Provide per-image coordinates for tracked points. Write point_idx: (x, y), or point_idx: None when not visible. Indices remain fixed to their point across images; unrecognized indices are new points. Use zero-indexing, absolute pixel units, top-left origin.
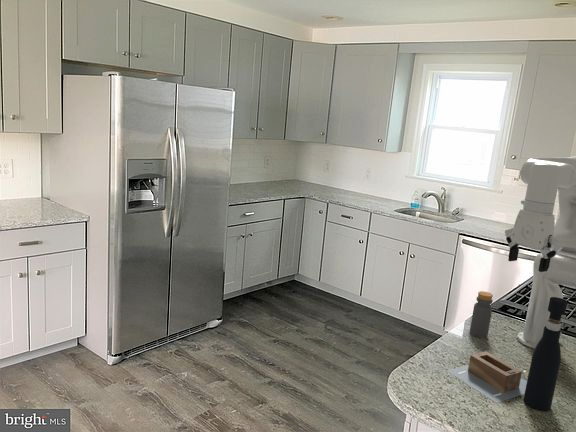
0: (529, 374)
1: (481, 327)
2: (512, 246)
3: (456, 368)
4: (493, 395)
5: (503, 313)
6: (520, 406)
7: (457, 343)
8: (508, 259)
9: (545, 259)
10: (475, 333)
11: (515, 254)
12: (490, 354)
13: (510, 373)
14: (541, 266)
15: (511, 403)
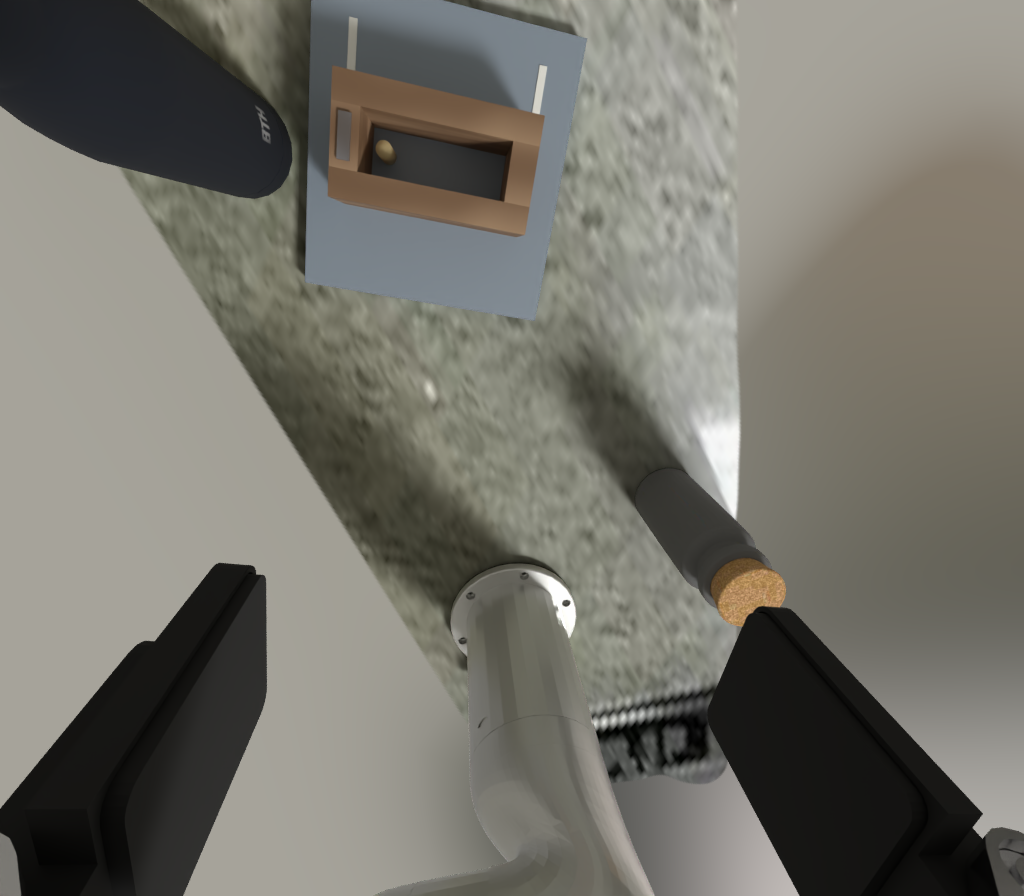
0: (209, 58)
1: (665, 493)
2: (985, 881)
3: (571, 106)
4: (356, 21)
5: (681, 703)
6: (277, 96)
7: (681, 359)
8: (794, 614)
9: (27, 828)
10: (669, 473)
11: (779, 765)
12: (496, 224)
13: (338, 112)
14: (172, 630)
15: (307, 83)
